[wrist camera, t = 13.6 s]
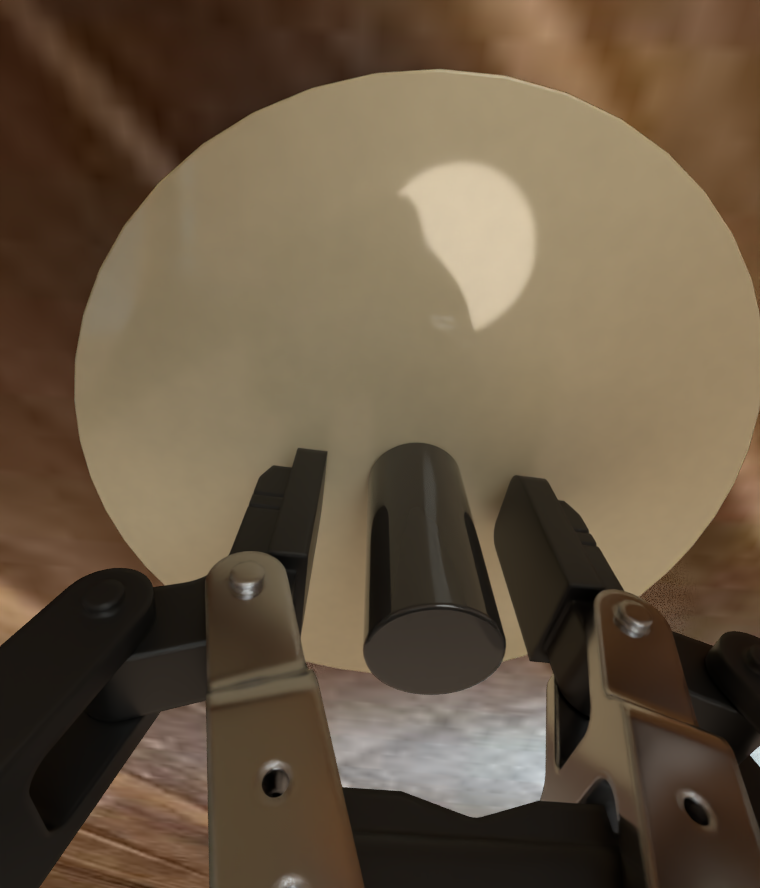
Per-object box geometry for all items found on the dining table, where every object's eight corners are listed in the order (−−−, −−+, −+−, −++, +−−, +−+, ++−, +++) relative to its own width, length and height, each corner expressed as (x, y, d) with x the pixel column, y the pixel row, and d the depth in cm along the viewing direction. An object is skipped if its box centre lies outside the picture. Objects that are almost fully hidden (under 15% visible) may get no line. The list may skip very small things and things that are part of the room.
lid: (140, 622, 17) (27, 836, 11) (27, -3, 8) (-652, -337, 3) (585, 663, 18) (673, 872, 13) (891, 161, 9) (1565, 151, 4)
